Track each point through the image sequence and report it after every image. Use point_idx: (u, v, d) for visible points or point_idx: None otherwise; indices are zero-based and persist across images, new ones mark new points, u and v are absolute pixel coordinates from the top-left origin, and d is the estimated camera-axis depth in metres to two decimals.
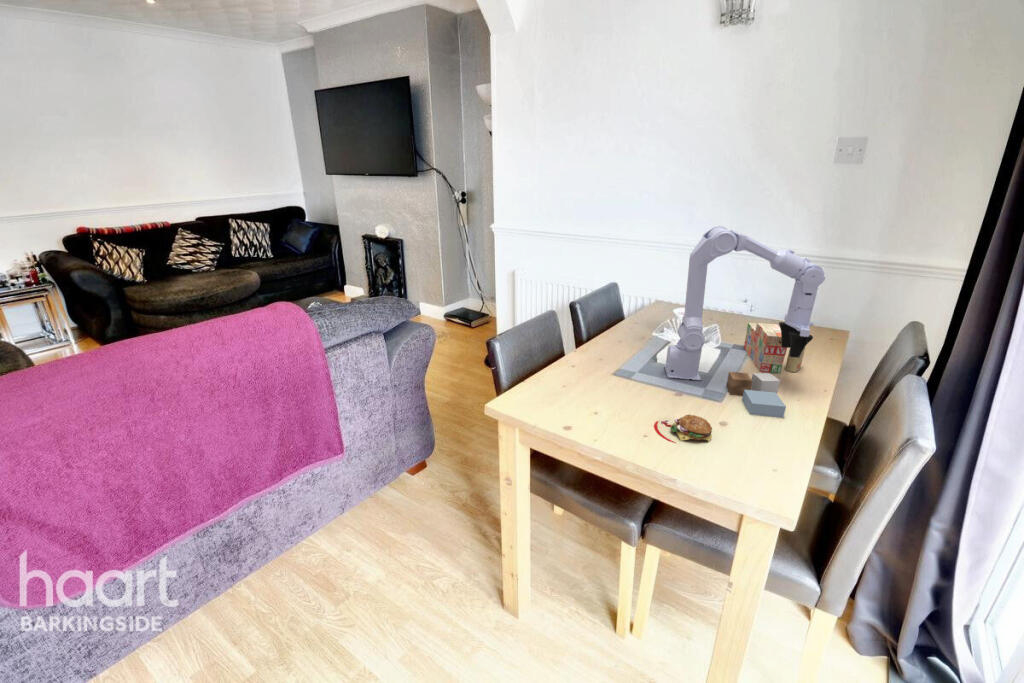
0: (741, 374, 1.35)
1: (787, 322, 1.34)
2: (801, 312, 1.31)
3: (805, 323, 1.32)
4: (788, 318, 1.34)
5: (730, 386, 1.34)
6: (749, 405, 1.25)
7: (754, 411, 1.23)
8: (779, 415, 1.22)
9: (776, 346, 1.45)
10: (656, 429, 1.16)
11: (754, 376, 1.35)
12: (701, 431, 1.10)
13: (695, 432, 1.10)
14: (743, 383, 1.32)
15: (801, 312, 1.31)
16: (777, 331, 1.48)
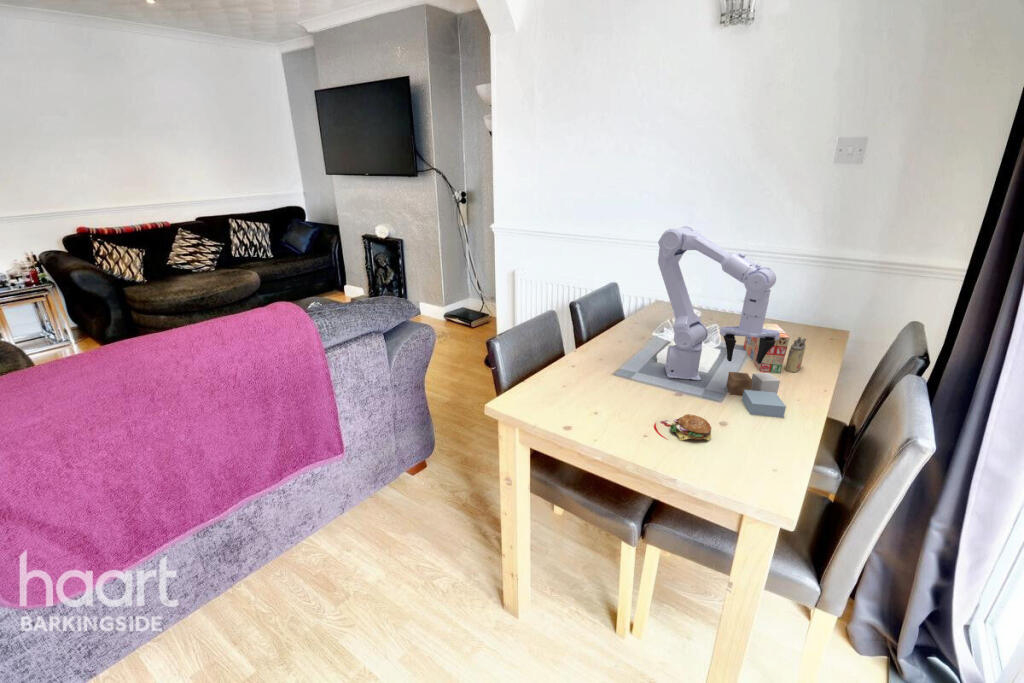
0: (741, 374, 1.35)
1: None
2: (741, 316, 1.29)
3: (741, 329, 1.28)
4: None
5: (730, 386, 1.34)
6: (749, 405, 1.25)
7: (754, 411, 1.23)
8: (779, 415, 1.22)
9: (776, 346, 1.45)
10: (655, 429, 1.16)
11: (754, 376, 1.35)
12: (700, 431, 1.11)
13: (694, 432, 1.11)
14: (743, 383, 1.32)
15: (741, 316, 1.29)
16: None
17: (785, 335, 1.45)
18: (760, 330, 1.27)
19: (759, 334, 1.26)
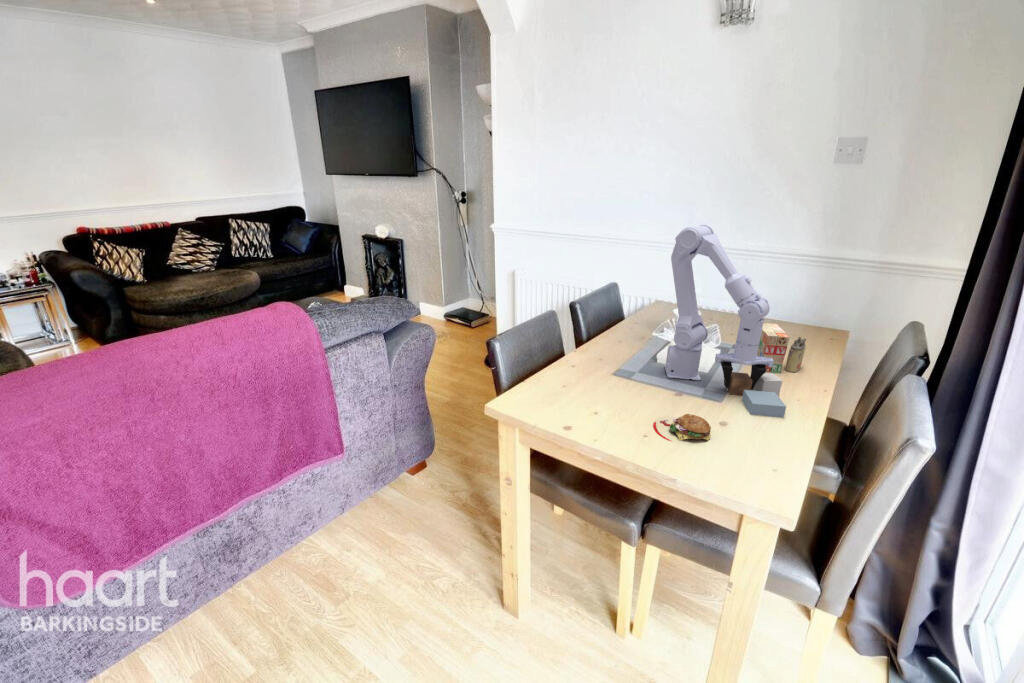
0: (741, 374, 1.35)
1: None
2: None
3: (735, 356, 1.31)
4: None
5: (730, 386, 1.34)
6: (749, 405, 1.24)
7: (755, 411, 1.23)
8: (779, 415, 1.22)
9: (776, 346, 1.46)
10: (655, 429, 1.16)
11: None
12: (700, 430, 1.11)
13: (694, 431, 1.11)
14: (743, 383, 1.32)
15: (735, 344, 1.32)
16: (777, 331, 1.48)
17: (785, 335, 1.46)
18: (754, 358, 1.29)
19: (753, 362, 1.29)
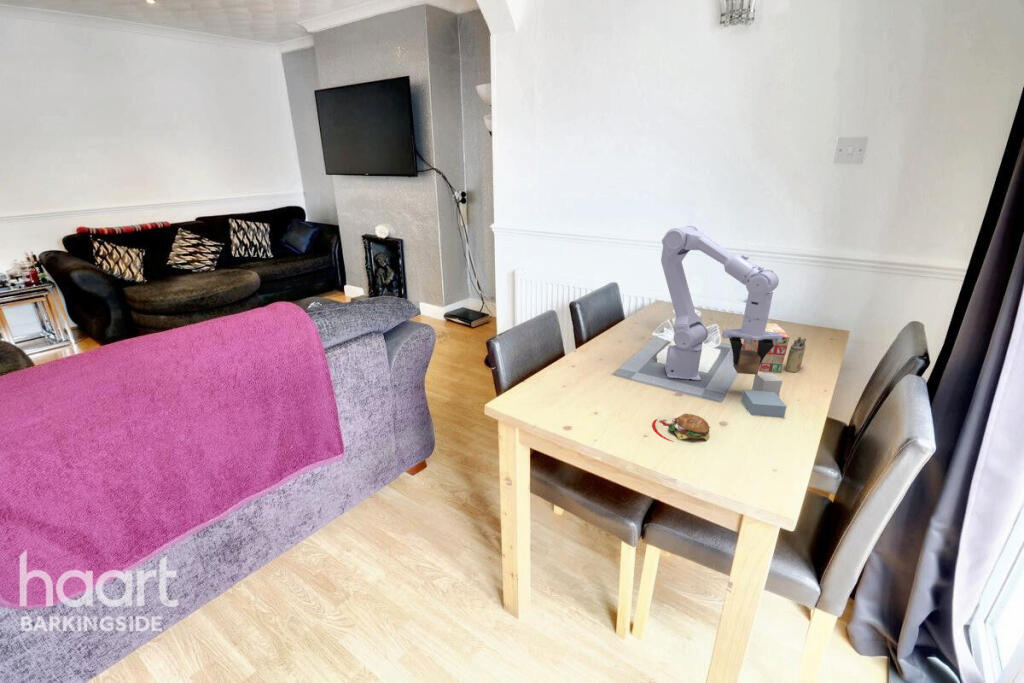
0: (749, 351, 1.31)
1: None
2: (743, 318, 1.28)
3: (743, 331, 1.27)
4: None
5: (737, 364, 1.31)
6: (750, 405, 1.24)
7: (755, 412, 1.23)
8: (780, 415, 1.22)
9: (776, 345, 1.46)
10: (654, 428, 1.16)
11: (756, 376, 1.35)
12: (699, 430, 1.11)
13: (693, 431, 1.11)
14: (751, 360, 1.28)
15: (743, 319, 1.28)
16: (777, 330, 1.48)
17: (785, 335, 1.46)
18: (762, 333, 1.26)
19: (762, 337, 1.26)
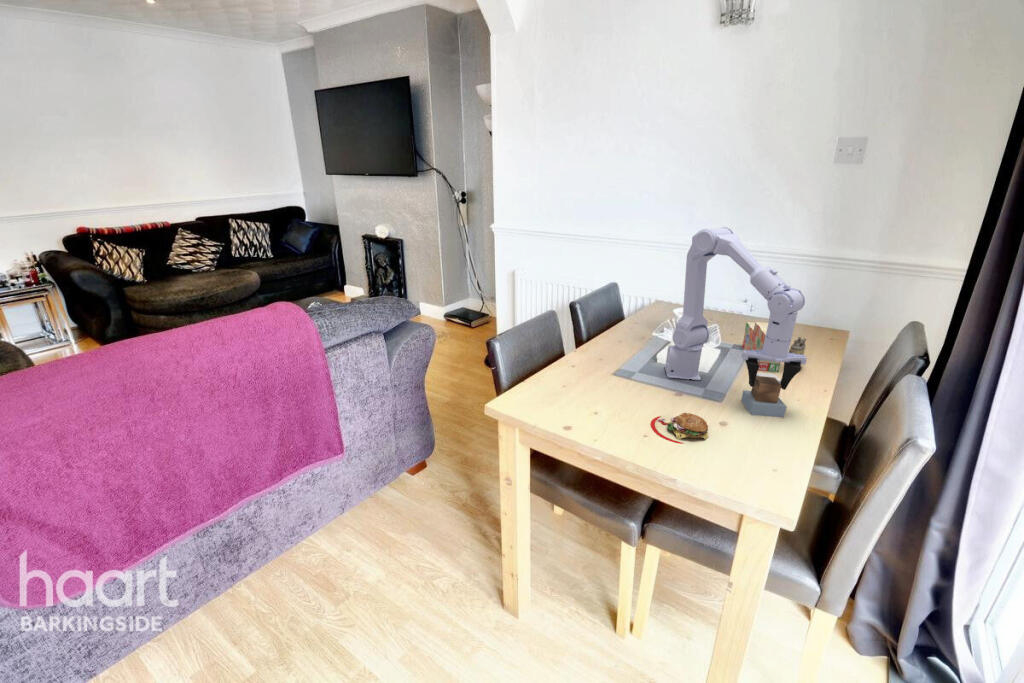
0: (768, 378, 1.25)
1: None
2: None
3: (765, 353, 1.20)
4: None
5: (756, 391, 1.24)
6: (750, 405, 1.24)
7: (755, 412, 1.23)
8: (780, 415, 1.23)
9: None
10: (653, 427, 1.16)
11: None
12: (697, 429, 1.11)
13: (691, 430, 1.11)
14: (771, 388, 1.22)
15: None
16: None
17: None
18: (785, 355, 1.19)
19: (784, 359, 1.19)
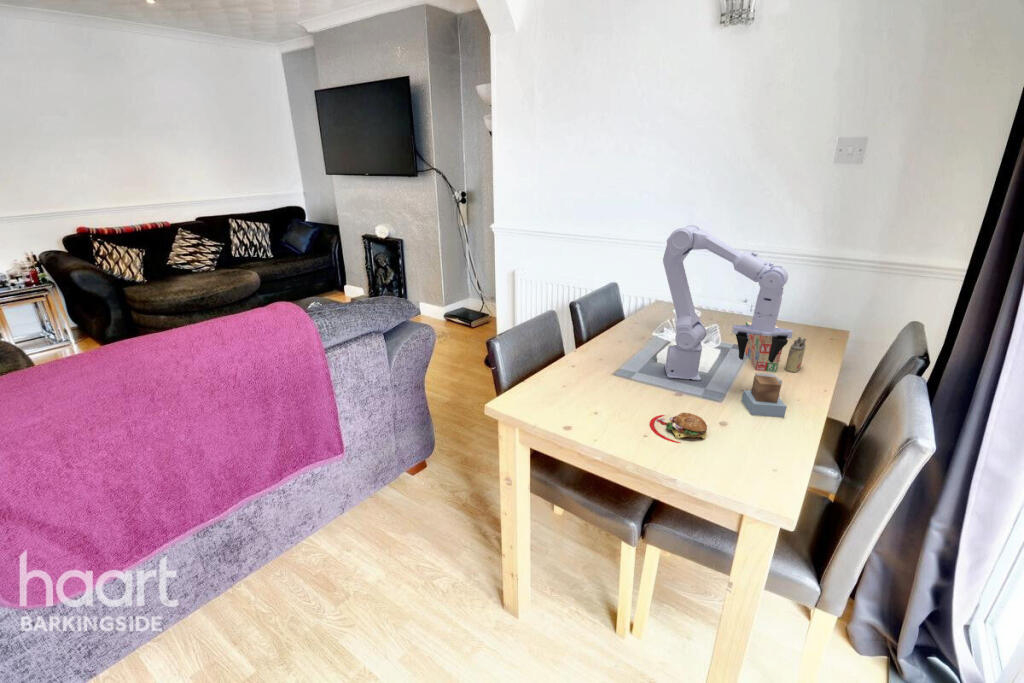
0: (768, 378, 1.25)
1: None
2: None
3: (753, 327, 1.28)
4: None
5: (756, 391, 1.24)
6: (750, 405, 1.24)
7: (756, 412, 1.23)
8: (780, 415, 1.23)
9: None
10: (652, 427, 1.17)
11: None
12: (696, 429, 1.11)
13: (690, 430, 1.11)
14: (770, 388, 1.22)
15: (753, 315, 1.29)
16: None
17: None
18: (773, 329, 1.27)
19: (772, 333, 1.26)
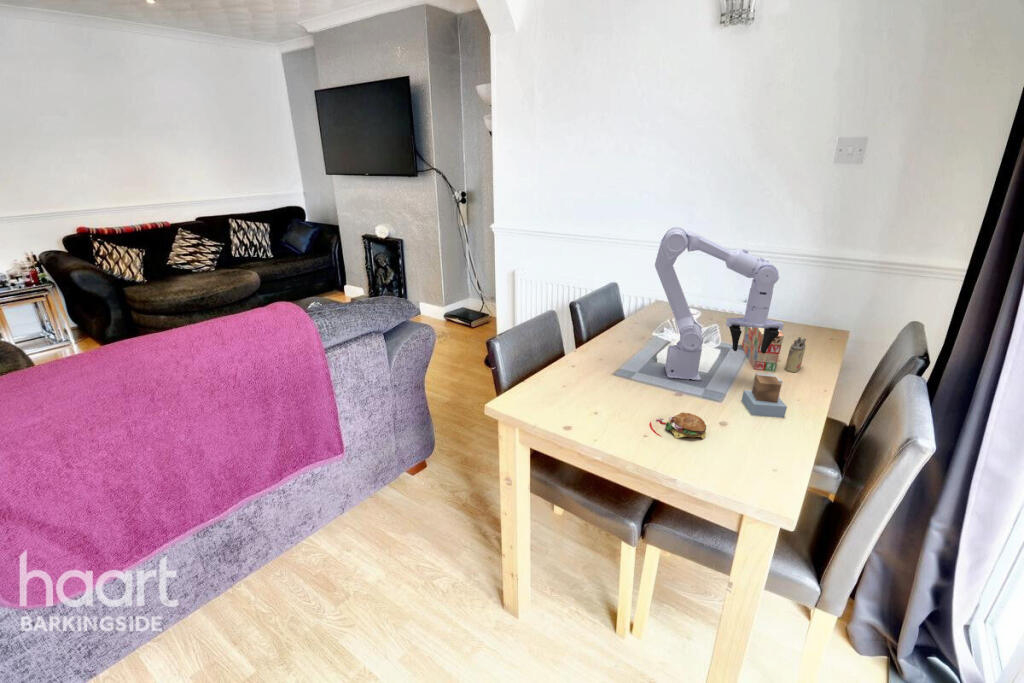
0: (769, 378, 1.25)
1: None
2: (746, 307, 1.34)
3: (746, 320, 1.34)
4: None
5: (756, 390, 1.25)
6: (750, 405, 1.24)
7: (756, 412, 1.23)
8: (780, 415, 1.22)
9: (770, 344, 1.47)
10: (651, 427, 1.17)
11: None
12: (695, 429, 1.11)
13: (689, 430, 1.11)
14: (770, 387, 1.22)
15: (746, 308, 1.34)
16: None
17: (780, 334, 1.46)
18: (764, 321, 1.32)
19: (764, 325, 1.32)
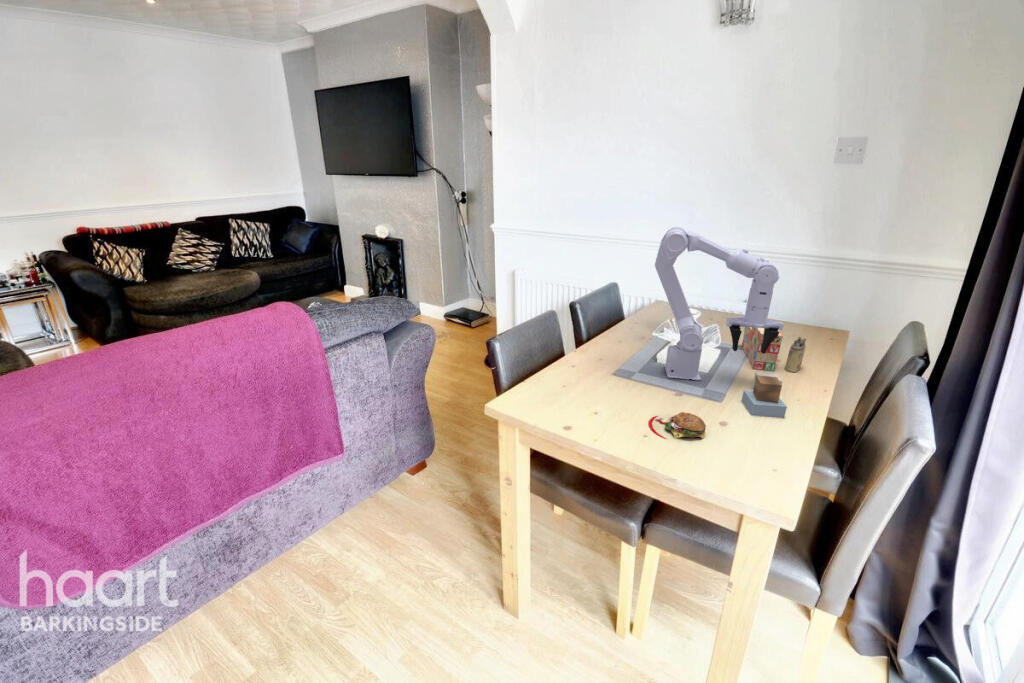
0: (770, 378, 1.25)
1: None
2: (746, 307, 1.34)
3: (746, 320, 1.34)
4: None
5: (757, 391, 1.25)
6: (750, 405, 1.24)
7: (756, 412, 1.23)
8: (780, 415, 1.22)
9: None
10: (650, 427, 1.17)
11: None
12: (695, 428, 1.11)
13: (689, 429, 1.12)
14: (771, 388, 1.22)
15: (746, 308, 1.34)
16: None
17: (779, 334, 1.47)
18: (764, 321, 1.32)
19: (764, 325, 1.32)
